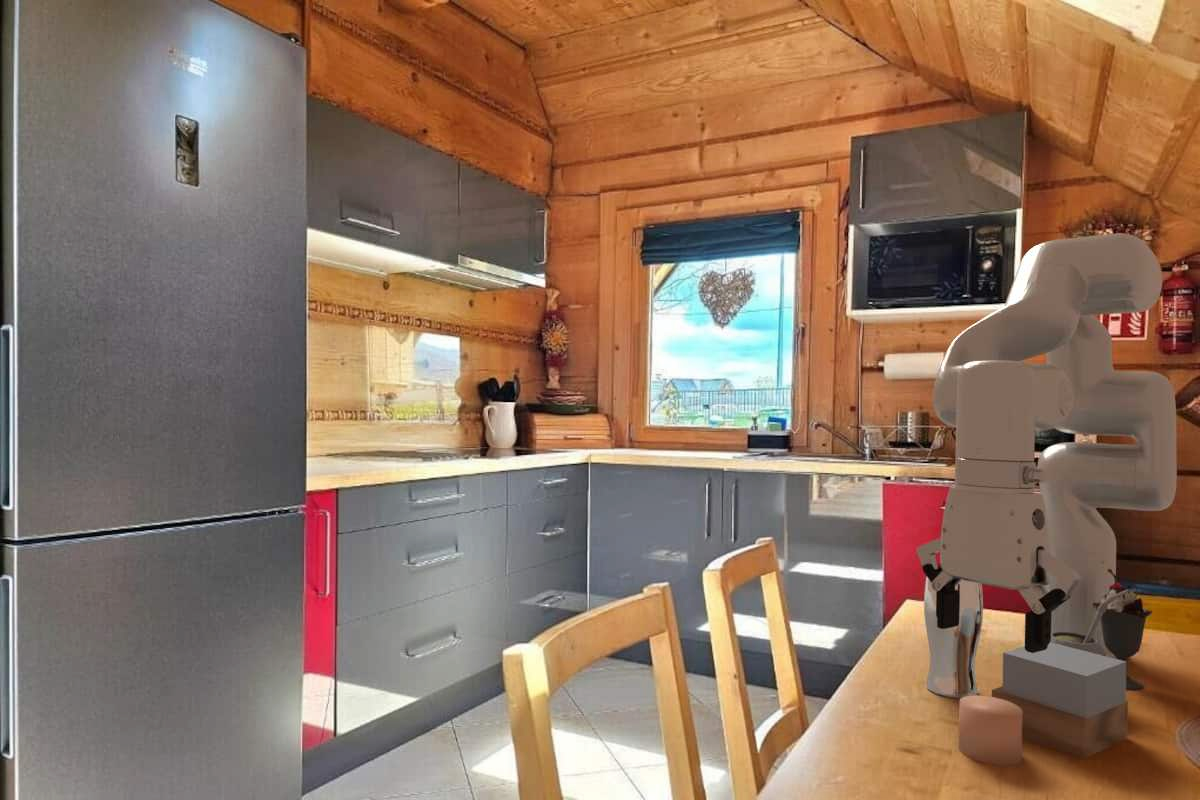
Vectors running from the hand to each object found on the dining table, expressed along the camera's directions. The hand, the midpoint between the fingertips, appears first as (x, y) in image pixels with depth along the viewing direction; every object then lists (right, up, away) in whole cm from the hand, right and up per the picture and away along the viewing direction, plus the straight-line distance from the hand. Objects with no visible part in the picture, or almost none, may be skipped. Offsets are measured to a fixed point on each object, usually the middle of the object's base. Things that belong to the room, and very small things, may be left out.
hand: (990, 638), depth 84 cm
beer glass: (+4, -13, +19) cm, 23 cm away
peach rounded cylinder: (0, -12, 0) cm, 12 cm away
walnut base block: (+11, -13, +6) cm, 18 cm away
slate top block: (+11, -8, +6) cm, 15 cm away
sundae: (+29, -13, +22) cm, 39 cm away
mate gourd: (+19, -13, +15) cm, 27 cm away
